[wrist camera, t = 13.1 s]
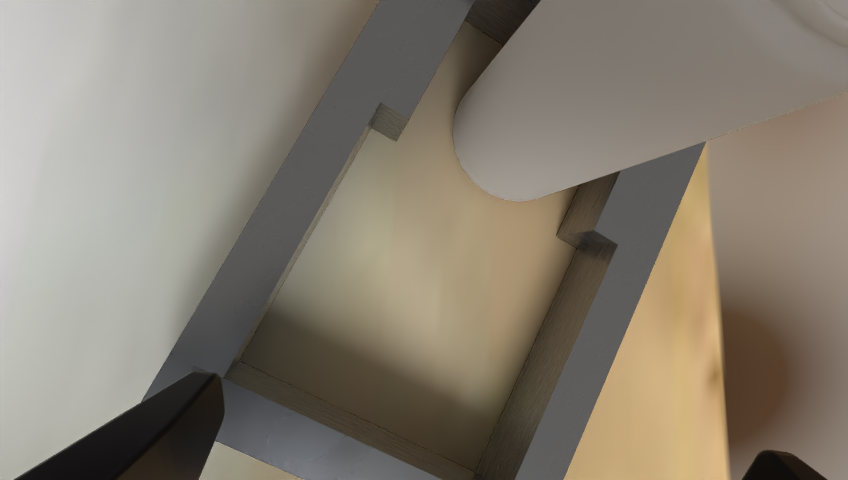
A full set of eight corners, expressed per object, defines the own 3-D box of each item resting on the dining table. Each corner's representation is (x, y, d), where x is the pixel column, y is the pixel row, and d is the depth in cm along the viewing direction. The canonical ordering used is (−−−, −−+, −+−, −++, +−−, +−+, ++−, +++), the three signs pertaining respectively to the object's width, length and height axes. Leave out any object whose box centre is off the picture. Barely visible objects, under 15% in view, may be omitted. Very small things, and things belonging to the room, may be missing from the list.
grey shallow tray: (492, 529, 16) (550, 616, 12) (169, 384, 14) (108, 428, 10) (678, 108, 19) (774, 64, 15) (430, -59, 17) (464, -162, 13)
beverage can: (423, 114, 17) (659, -248, 5) (526, 58, 18) (917, -348, 6) (490, 228, 17) (860, 130, 5) (588, 165, 18) (1074, -29, 6)
